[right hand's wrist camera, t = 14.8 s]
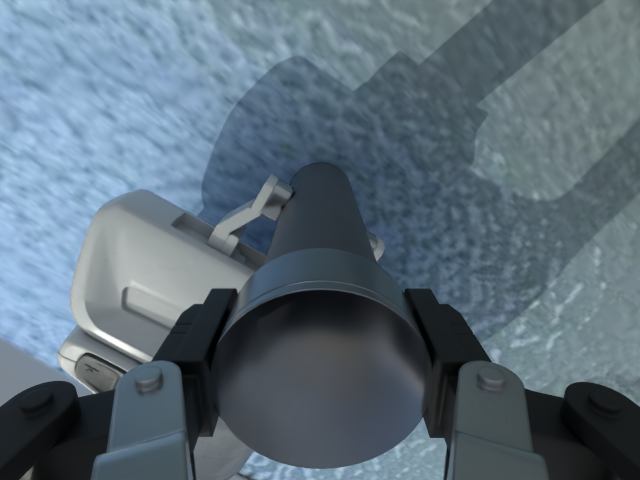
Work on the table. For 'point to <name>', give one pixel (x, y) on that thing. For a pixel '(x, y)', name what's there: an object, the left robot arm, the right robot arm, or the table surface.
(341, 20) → the table surface
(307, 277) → the lid
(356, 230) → the dark grey cylinder
